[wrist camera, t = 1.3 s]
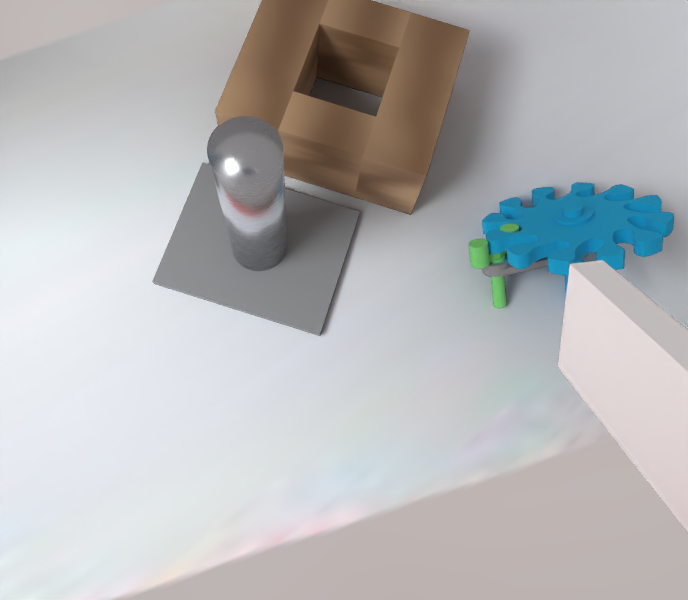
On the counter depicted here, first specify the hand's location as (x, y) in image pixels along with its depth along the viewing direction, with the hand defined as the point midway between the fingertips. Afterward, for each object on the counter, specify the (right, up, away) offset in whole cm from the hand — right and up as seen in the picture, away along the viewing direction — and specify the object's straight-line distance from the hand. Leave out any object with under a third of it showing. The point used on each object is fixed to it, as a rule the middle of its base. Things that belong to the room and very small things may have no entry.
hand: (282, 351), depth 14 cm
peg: (-4, +4, +24) cm, 24 cm away
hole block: (+1, +13, +27) cm, 30 cm away
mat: (-4, +4, +24) cm, 25 cm away
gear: (+13, +4, +26) cm, 29 cm away
